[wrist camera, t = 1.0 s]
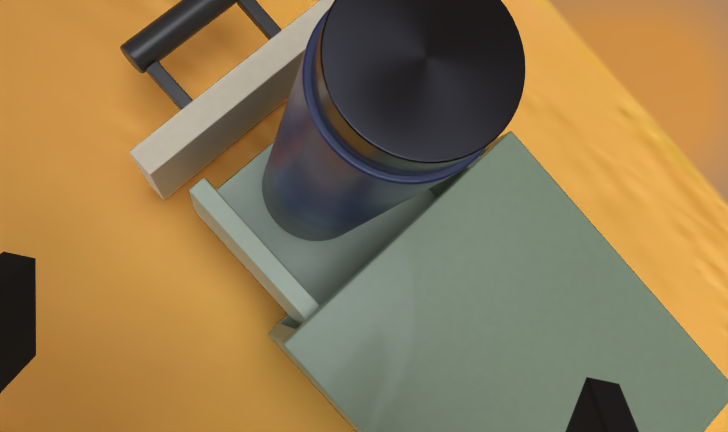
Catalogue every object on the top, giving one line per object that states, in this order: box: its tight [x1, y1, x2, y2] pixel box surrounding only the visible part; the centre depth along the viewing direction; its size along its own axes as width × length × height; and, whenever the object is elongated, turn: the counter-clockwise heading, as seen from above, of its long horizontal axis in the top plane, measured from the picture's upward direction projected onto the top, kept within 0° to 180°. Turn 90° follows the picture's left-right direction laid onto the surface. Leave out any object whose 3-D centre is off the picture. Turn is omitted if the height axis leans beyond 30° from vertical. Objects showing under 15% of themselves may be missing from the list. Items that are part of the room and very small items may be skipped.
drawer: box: [120, 0, 480, 326], centre depth 30 cm, size 18×11×7 cm, turn 43°
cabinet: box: [268, 131, 728, 432], centre depth 31 cm, size 15×13×9 cm
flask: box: [262, 0, 525, 241], centre depth 24 cm, size 5×5×18 cm
